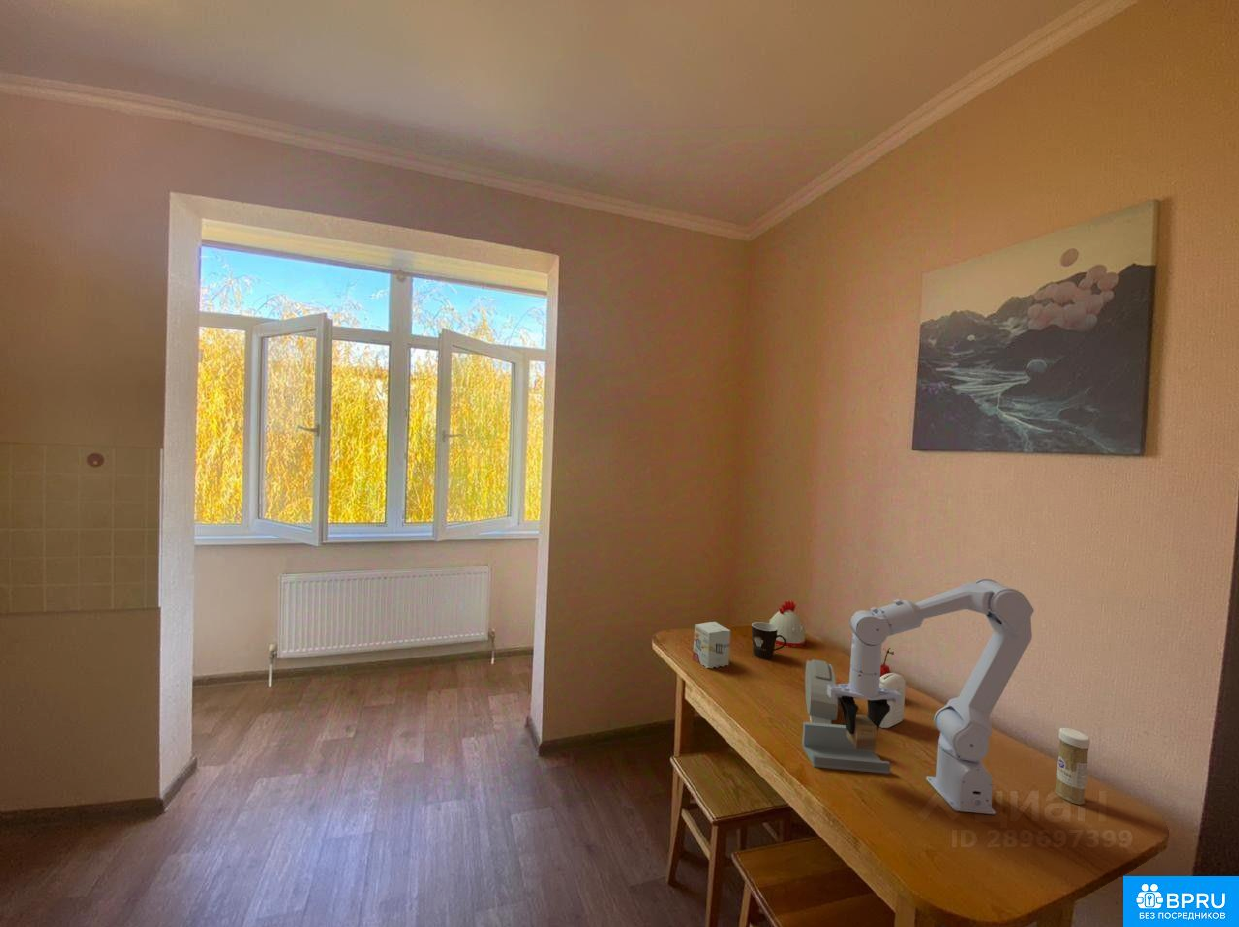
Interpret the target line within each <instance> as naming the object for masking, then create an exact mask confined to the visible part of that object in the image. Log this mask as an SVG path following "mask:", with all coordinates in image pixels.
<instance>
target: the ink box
mask: <svg viewBox="0 0 1239 927" xmlns="http://www.w3.org/2000/svg"><path fill="white" fill-rule="evenodd" d="M730 641H731V630H730V629H728V628H726V627H725V626H724V625H722V624H720V623H718V622H717V621H709V622H704V623H698V624H694V642H693V652H692V653H693V654H692V655H693V656H692V659H693V660H694V661H695V662H697V663H699V664H700V665H702V666H703V665H704V666H705V667H704V666H703V667H704V668H706V669H707V668H711V669H714V668H713V667H716V668H720V667H719V666H722V667H726V666H725V665H727V666H729V661H730V660H729V658H730V643H731V642H730Z"/></svg>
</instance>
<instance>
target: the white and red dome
mask: <svg viewBox="0 0 1239 927" xmlns="http://www.w3.org/2000/svg"><path fill="white" fill-rule="evenodd" d="M796 604H797V603H794V600H788V601H785V600H784V604H781V607H779V610H778V611H777V612H776V613H775V614H774V615H773V616H772V618H769V620H768V623H769V624H772V625H775V626H776V627H777V628H778V631H777V635H782V636H783V637H784V638H785V639H786V645H785V646H788V647H787V648H791V647H797V648H801V647H800V646H802V645H804V644H806V638H805V627H804V626H803V624H802V622H801V620H800V618H799V616H798V615H797V614H796V613H795V612H794V611H795V608H796ZM775 643H776V644H775V645H777V644H779V645H778V646H780V645H784V643H785V642H784V639H783V638H782V637H777V639H776V642H775ZM804 646H805V645H804ZM802 647H803V646H802Z"/></svg>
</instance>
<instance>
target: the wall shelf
mask: <svg viewBox="0 0 1239 927" xmlns="http://www.w3.org/2000/svg"><path fill="white" fill-rule="evenodd" d="M802 724H803V726H802V737H801V738H802V740H801V747H802V748H803V750H804V751H805V753H806V755H807V757H808V759H809V760H810V762H811V765H813V767H814V768H818V769H819V768H822V769H832V770H840V771H841V770H843V771H854V772H855V771H856V772H866V773H877V774H887V775H891V774H890V772H891V763H890V761H887V760H881V758H880V757H879V756H878V754H876V751H875V750H861V749H856V748H855V747H854V746H853V744H852V743H851V742H850V741H849V739H848V738H847V737H846V735H847V729H846V724H835V723H831V724H824V723H813V722H811V721H803V723H802Z"/></svg>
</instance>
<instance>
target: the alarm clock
mask: <svg viewBox="0 0 1239 927" xmlns="http://www.w3.org/2000/svg"><path fill="white" fill-rule="evenodd" d="M805 662H806V663H805V679H804V682H805V683H804V684H805V701H806V712H807V714H808V716H809V720H810V721H809V722H813V723H824V724H832V721H836V720H837V719H838V713H839V700H838V697H835V698H830V697H829V695H828V694H827V685H837V679H836V674H835V670H834V667H833V665H832V664H831V663H828V662H827V661H824V660H819V659H814V658H812V659H811V660H809V659H808V660H806V661H805Z"/></svg>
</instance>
